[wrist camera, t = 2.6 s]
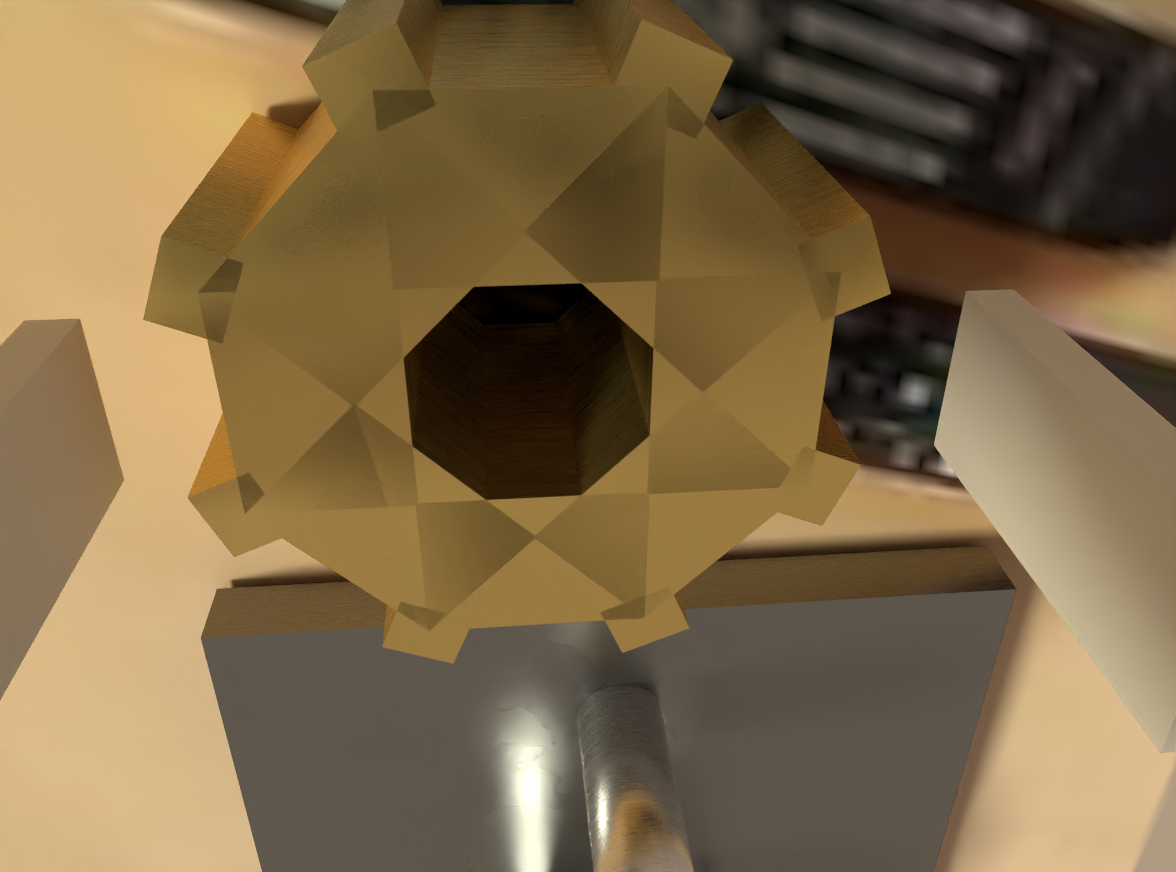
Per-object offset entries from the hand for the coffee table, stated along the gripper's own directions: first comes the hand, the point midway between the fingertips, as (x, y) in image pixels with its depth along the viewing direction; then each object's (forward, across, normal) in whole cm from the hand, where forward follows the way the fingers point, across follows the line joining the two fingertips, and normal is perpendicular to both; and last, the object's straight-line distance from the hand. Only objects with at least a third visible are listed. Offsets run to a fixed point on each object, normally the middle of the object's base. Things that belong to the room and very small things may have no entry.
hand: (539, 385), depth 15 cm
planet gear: (+5, 0, +1) cm, 5 cm away
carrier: (+5, +2, -19) cm, 20 cm away
